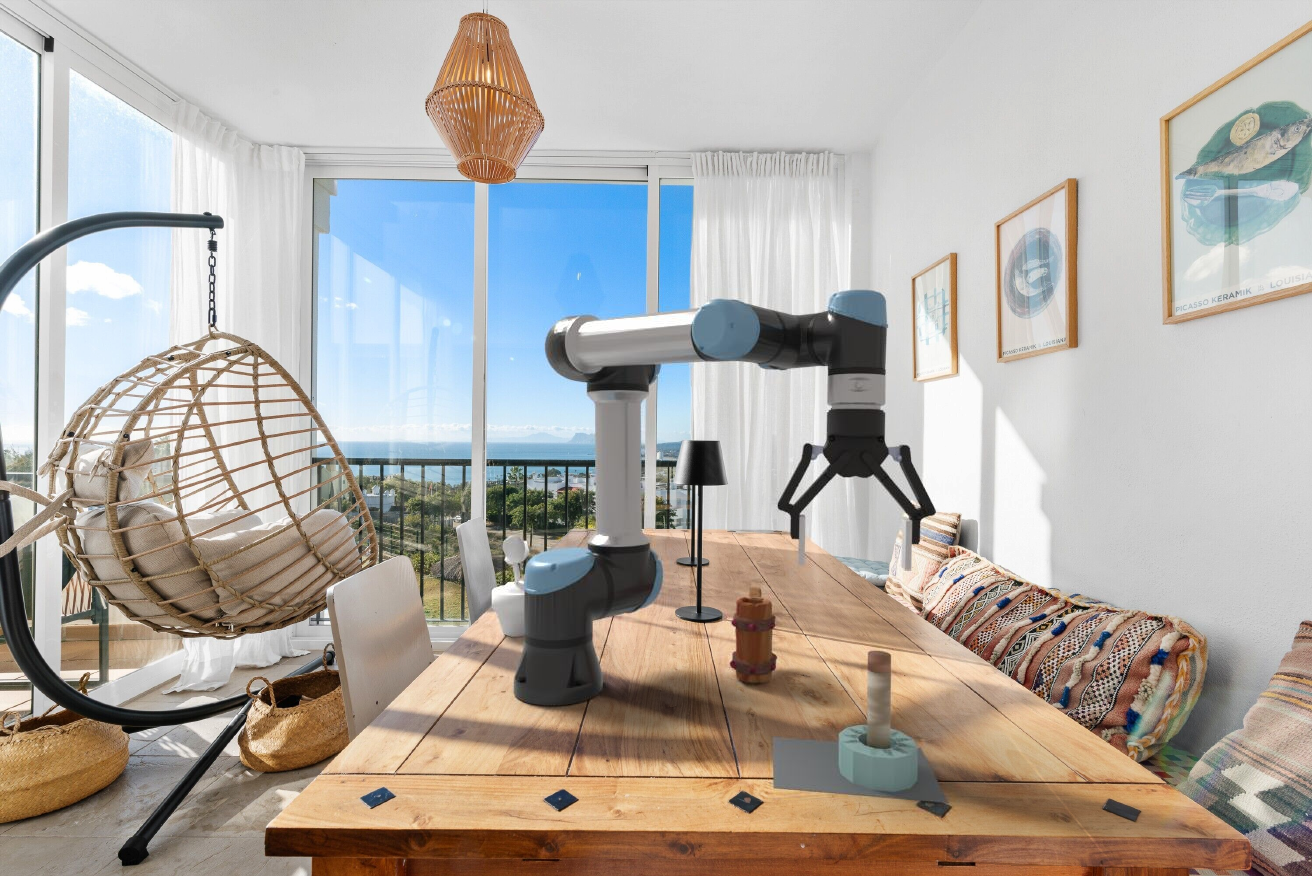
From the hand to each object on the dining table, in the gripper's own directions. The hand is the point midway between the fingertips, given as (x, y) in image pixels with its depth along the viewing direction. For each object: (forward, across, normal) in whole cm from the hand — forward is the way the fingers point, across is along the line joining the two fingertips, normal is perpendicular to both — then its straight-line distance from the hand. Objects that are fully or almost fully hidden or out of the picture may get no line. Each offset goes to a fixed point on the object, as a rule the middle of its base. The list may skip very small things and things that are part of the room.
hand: (853, 566), depth 89 cm
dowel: (+25, +3, -5) cm, 26 cm away
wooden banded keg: (+26, -14, +30) cm, 42 cm away
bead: (+25, +3, -5) cm, 26 cm away
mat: (+26, 0, -4) cm, 26 cm away
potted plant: (+28, -66, +47) cm, 86 cm away
